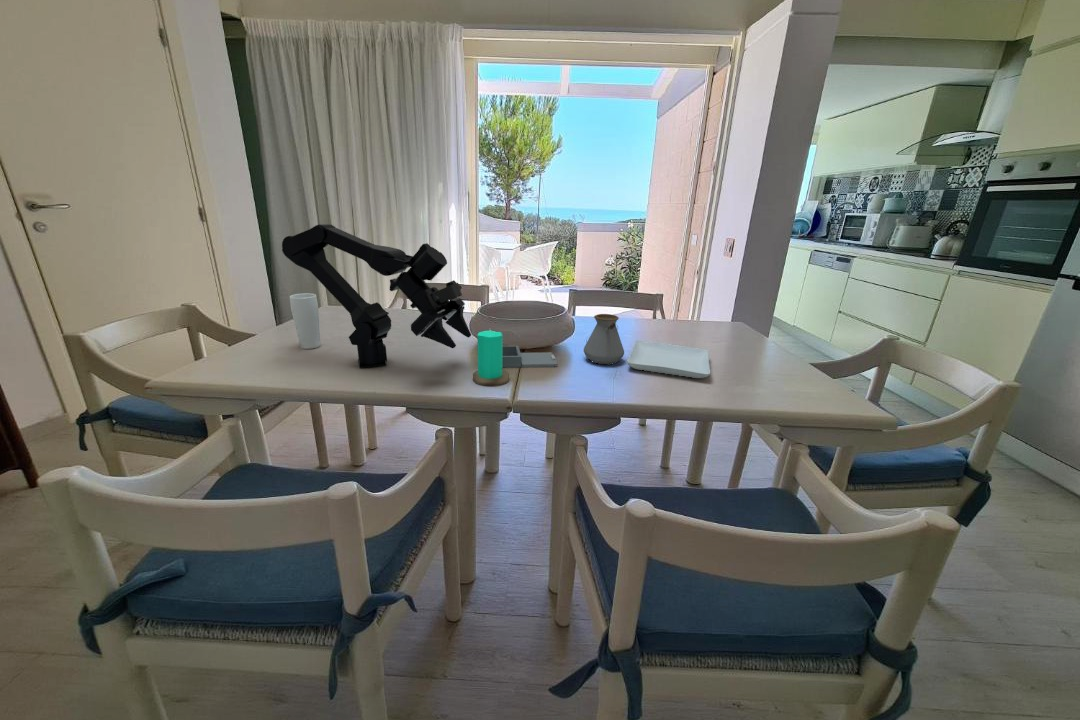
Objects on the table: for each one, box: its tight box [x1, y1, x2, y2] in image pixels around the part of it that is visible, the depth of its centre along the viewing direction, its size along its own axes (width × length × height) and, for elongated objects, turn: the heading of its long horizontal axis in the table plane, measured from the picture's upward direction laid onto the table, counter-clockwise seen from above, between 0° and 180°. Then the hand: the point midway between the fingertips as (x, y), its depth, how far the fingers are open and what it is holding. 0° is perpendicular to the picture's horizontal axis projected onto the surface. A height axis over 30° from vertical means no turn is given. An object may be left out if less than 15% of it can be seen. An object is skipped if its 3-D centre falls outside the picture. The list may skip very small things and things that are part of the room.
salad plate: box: [626, 339, 711, 379], centre depth 121 cm, size 21×21×3 cm
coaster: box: [472, 368, 510, 387], centre depth 106 cm, size 9×9×1 cm
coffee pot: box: [583, 313, 625, 365], centre depth 115 cm, size 21×12×15 cm, turn 177°
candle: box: [476, 329, 504, 379], centre depth 104 cm, size 6×6×12 cm
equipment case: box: [502, 345, 559, 369], centre depth 119 cm, size 19×10×3 cm, turn 98°
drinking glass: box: [289, 292, 322, 350], centre depth 122 cm, size 7×7×15 cm
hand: (462, 341), depth 105 cm, fingers open, 9 cm apart
